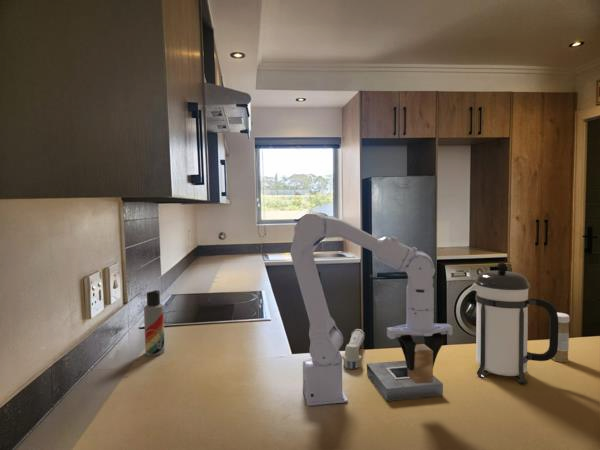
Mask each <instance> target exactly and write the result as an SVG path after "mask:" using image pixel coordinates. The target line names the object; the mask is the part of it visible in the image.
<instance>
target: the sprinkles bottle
mask: <svg viewBox="0 0 600 450" xmlns="http://www.w3.org/2000/svg"><path fill="white" fill-rule="evenodd" d="M556 312H557V311H556ZM557 315H558V349H557V353H556V355H555V356H554V357H553V358H552V359H551V360H552V361H555V362H558V363H559V362H560V363H568V362H569V345H570V344H569V343H570V342H569V341H570V332H569V329H570V328H569V327H570V325H569V324H570V321H571V320H570V315H569V314H567V313H564V312H557Z"/></svg>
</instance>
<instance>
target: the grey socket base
mask: <svg viewBox="0 0 600 450" xmlns="http://www.w3.org/2000/svg"><path fill="white" fill-rule="evenodd" d="M366 375H367V376H368V378H369V380H370V381H371V383H372V384H375V385H374V386H375V388H376V389H377V388H378V389H377V390H378V392H379V391H380V392H381V393H380V392H379V393H380V394H381V396H382V395H383V396H382V397H383V398H384V399H386V400H385V401H386V402H393V400H397V401H404V399H407V400H414V399H413V398H417V399H424V398H423V397H427V398H434V397H435V398H437V397H443V396H444V389H443V388H444V384H443V382H442V381H441V380H439V379H438V378H437V377H436V376H435V375H434V374H433V382H431V383H419V384H415V383H414V382H413V381H412V380H411V379H410V378H409V376H408V368H407V365H406V360H397V361H384V362H373V363H372V362H371V363H370V362H369V363H366Z"/></svg>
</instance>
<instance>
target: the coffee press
mask: <svg viewBox="0 0 600 450" xmlns="http://www.w3.org/2000/svg"><path fill="white" fill-rule="evenodd" d="M496 268H497V269H498V270H486V271H483V272H480V273H479V274H478V276H477V277H476V279H474V283H473V284H472V285H471V286H470V287H469V290H470V291H475V292H476V293H475V301H476V325H475V326H476V332H475V333H476V335H475V336H476V341H475V342H476V343H475V344H476V346H475V347H476V348H475V349H476V350H475V353H476V355H475V356H476V363H477V364H478V366H479V368H478V369H477V372H476V375H477V376H479V377H480V378H485V377H486V375H488V373H491V374H495V375H498V376H505V377H514V378H515V379H516V380H517V382H518V384H519V385H520V386H522V385H526V384H528V379H527V377H526V376H525V373H526V372H527V370H528V362H529V361H536V362H547V361H549V360H552V358H553V357H554V356H555V355H556V353H557V349H558V315H557V310H556V308H555V307H554V305H553V304H551V303H550V302H549V301H547V300H544V299H541V298H530V297H529V289H530V288H531V283H530V282H529V281H528V278H527V277H525V276H524V275H522V274H521V273H518V272H516V271H515V272H514V271H508V270H506V269H507V268H508V266H507V264H506V263H505V262H499V263H497V265H496ZM530 305H531V306H536V307H542V308H544V309H545V310H546V311H547V313H548V314H549V340H548V341H549V343H548V344H549V347H548V349H547V350H546V351H545V352H543V353H536V352H529V351H528V335H529V334H528V330H529V329H528V326H529V325H528V324H529V322H528V320H529V318H528V316H529V312H528V310H529V309H528V308H529V306H530Z"/></svg>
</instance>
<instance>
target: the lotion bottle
mask: <svg viewBox="0 0 600 450" xmlns="http://www.w3.org/2000/svg"><path fill="white" fill-rule="evenodd" d="M160 293H161V292H160V290H158V289H156V290H151V291H147V292H146V305H144V307H143V318H144V320H143V321H144V348H145V350H144V351H145V355H146V356H148V357H152V356H158V355H162V354H164V353H165V350H166V349H165V321H164V320H165V319H164V304H163V303H161V296H160V295H161V294H160Z"/></svg>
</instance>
